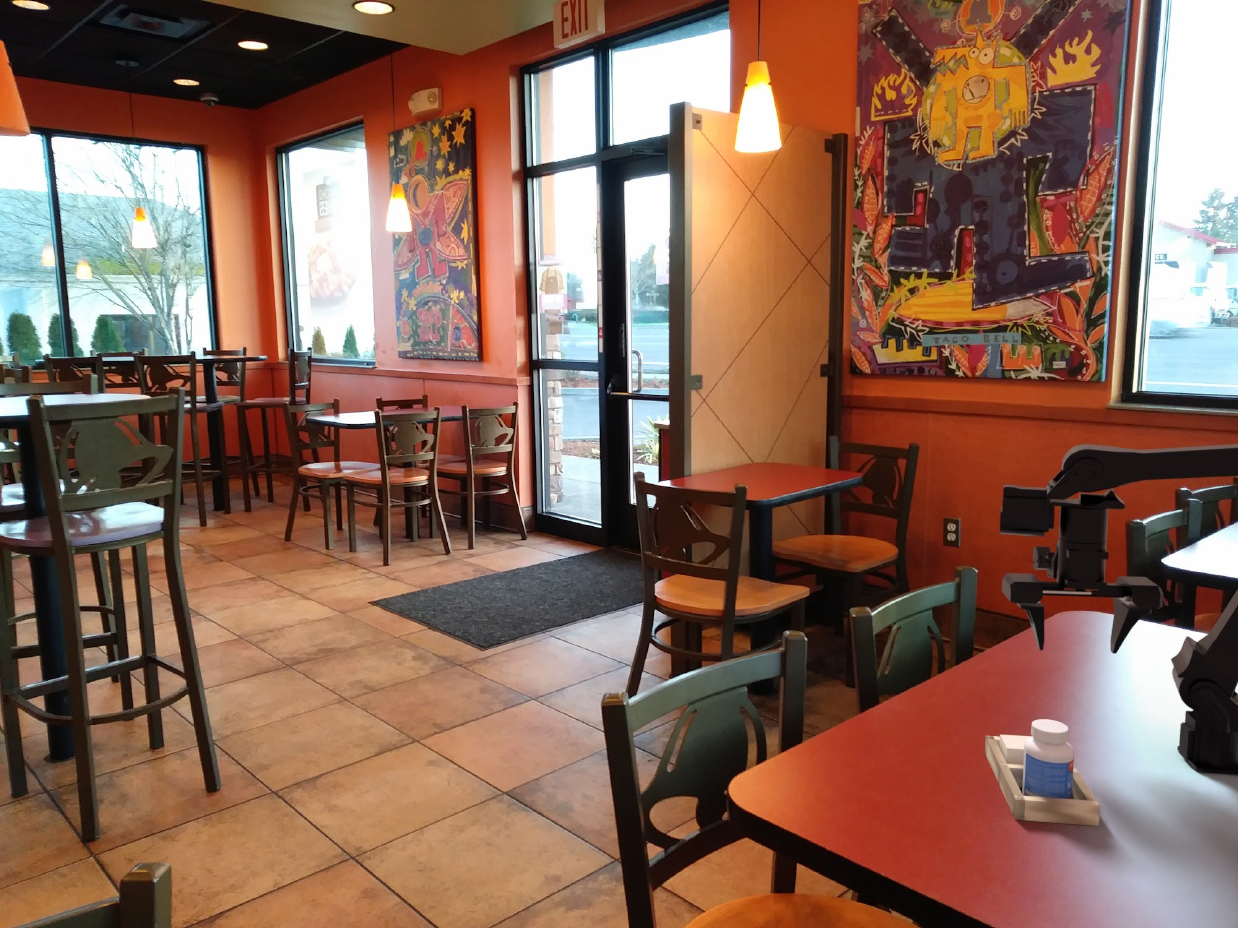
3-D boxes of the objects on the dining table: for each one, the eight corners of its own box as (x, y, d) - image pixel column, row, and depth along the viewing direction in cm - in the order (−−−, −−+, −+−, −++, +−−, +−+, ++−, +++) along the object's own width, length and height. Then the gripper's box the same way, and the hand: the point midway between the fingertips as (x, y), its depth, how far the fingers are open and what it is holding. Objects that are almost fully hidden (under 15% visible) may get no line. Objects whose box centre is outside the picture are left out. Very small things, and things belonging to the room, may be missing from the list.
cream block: (1031, 765, 117) (1032, 736, 117) (1039, 779, 113) (1040, 750, 113) (998, 763, 118) (1000, 734, 118) (1005, 777, 114) (1007, 748, 114)
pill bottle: (1077, 816, 105) (1081, 737, 103) (1028, 812, 106) (1031, 734, 104) (1064, 793, 110) (1068, 717, 109) (1017, 789, 111) (1020, 714, 110)
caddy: (1056, 757, 119) (1057, 739, 119) (1098, 825, 102) (1099, 805, 102) (984, 753, 121) (985, 735, 120) (1015, 819, 104) (1015, 799, 104)
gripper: (1136, 527, 126) (1129, 634, 128) (995, 525, 129) (991, 629, 131) (1168, 546, 115) (1160, 662, 117) (1013, 542, 118) (1009, 655, 121)
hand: (1076, 650), depth 122 cm, fingers open, 9 cm apart
